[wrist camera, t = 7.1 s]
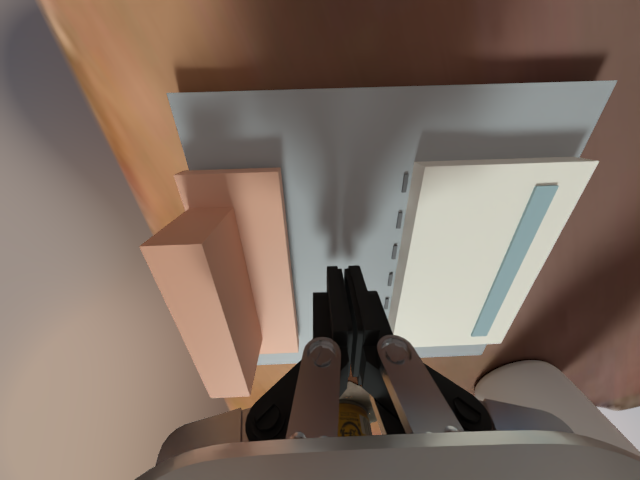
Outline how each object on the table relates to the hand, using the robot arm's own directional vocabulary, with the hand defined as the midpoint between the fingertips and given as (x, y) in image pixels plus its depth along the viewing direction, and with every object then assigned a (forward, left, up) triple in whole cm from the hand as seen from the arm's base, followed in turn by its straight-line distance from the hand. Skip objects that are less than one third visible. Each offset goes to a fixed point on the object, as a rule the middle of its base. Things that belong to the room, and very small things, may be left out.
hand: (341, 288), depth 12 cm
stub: (0, -5, -2) cm, 5 cm away
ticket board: (0, +2, -3) cm, 4 cm away
